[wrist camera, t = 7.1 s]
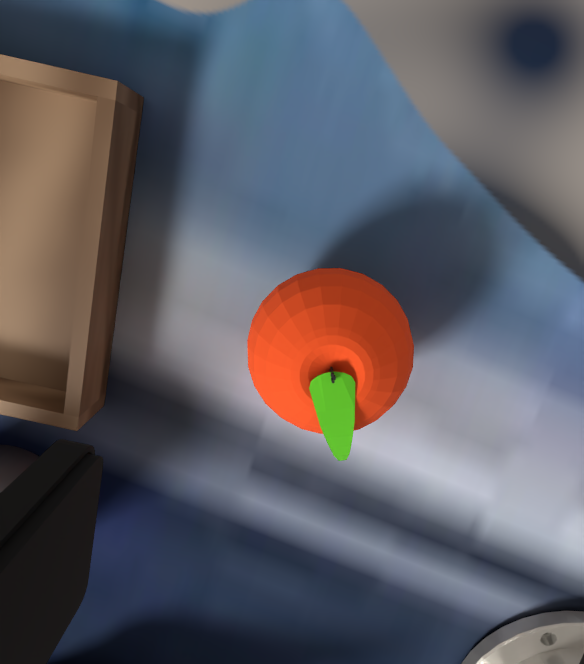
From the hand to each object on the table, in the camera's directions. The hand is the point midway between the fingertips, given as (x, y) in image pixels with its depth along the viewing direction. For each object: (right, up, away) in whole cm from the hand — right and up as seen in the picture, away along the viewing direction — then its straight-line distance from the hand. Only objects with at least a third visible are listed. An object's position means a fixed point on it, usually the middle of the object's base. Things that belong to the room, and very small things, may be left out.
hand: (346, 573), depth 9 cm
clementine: (+1, +4, +16) cm, 16 cm away
